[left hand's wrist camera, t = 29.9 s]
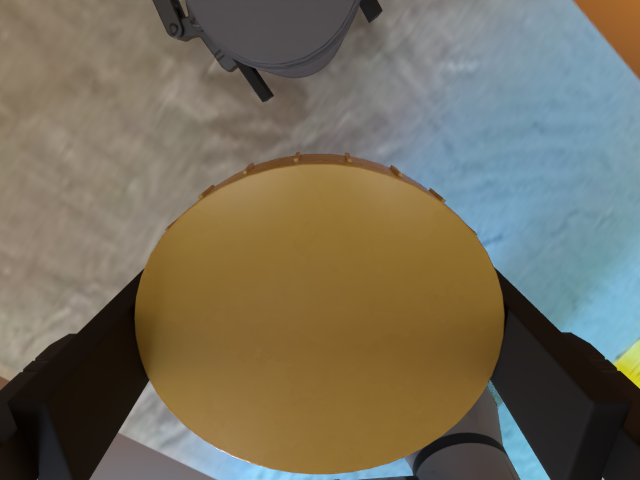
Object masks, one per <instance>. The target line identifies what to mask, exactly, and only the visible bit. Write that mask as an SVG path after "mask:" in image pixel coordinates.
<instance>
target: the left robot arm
mask: <svg viewBox="0 0 640 480" xmlns="http://www.w3.org/2000/svg"><path fill="white" fill-rule="evenodd" d="M144 269H145V268H144ZM144 269H143V270H142V271H141V272H140V273H139V274H138V275H137V276H136V277H135V278H134V279H133V280H132V281H131V282H130V283H129V284H128V285H127V286H126V287H125V288H124V289H123V290H122V291H121V292H120V293H118V294H117V295H116V296H115V297H114V298H113V299H112V300H111V301H110V302H109V303H108V304H107V305H106V306H105V307H104V308H103V309H102V310H101V311H100V312H99V313H98V314H97V315H96V316H95V317H94V318H93V319H92V320H91V321H90V322H89V323H88V324H87V325H86V326H85V327H84V328H82V329H81V330H80V331H79V332H78V333H77V334H68V335H66V336H65V337H63V338H61V339H59V340H58V341H56V342H54V343H52V344H51V345H49V346H48V347H47V348H46V349H45V350H44V351H43V352H42V353H41V354H40V355H38V356H37V357H36V358H35V361H32V362H31V363H30V364H29V365H28V366H26V367H25V368H24V369H23V372H20V373H19V374H18V375H17V376H15V377H14V378H13V379H12V380H11V381H10V382H9V383H8V384H7V385H6V386H5V387H3V388H2V389H1V390H0V480H37V479H38V480H89V479H90V477H91V476H92V474H93V472H94V471H95V469H96V467H97V466H98V464H99V463H100V461H101V459H102V458H103V456H104V454H105V453H106V451H107V449H108V448H109V446H110V444H111V443H112V441H113V439H114V438H115V436H116V434H117V433H118V431H119V429H120V428H121V426H122V425H123V423H124V421H125V420H126V418H127V416H128V415H129V413H130V411H131V410H132V408H133V406H134V405H135V403H136V401H137V400H138V398H139V396H140V395H141V393H142V391H143V390H144V388H145V386H146V385H147V383H148V381H149V378H148V376H147V374H146V371H145V369H144V366H143V364H142V361H141V358H140V353H139V349H138V344H137V340H136V334H135V320H134V316H135V305H136V295H137V292H138V288H139V284H140V280H141V276H142V273H143V271H144ZM494 269H495V271H496V273H497V276H498V280H499V284H500V287H501V291H502V295H503V305H504V314H505V318H504V336H503V341H502V346H501V351H500V356H499V358H498V361H497V364H496V366H495V369H494V372H493V375H492V376H491V378H490V380H491V382H492V383H493V385H494V387H495V388H496V390H497V392H498V393H499V395H500V397H501V398H502V400H503V402H504V403H505V405H506V407H507V408H508V410H509V412H510V413H511V415H512V417H513V418H514V420H515V422H516V423H517V425H518V427H519V428H520V430H521V432H522V433H523V435H524V436H525V438H526V440H527V441H528V443H529V445H530V446H531V448H532V450H533V451H534V453H535V455H536V456H537V458H538V460H539V461H540V463H541V465H542V466H543V468H544V470H545V471H546V473H547V475H548V476H549V478H550V480H602V477H603V478H604V480H640V389H639V388H638V387H637V386H636V385H635V384H634V383H633V382H632V381H631V380H630V379H628V378H627V377H626V376H625V375H624V374H623V373H622V372H621V371H617V368H616V367H615V366H614V365H613V364H612V363H611V362H610V361H609V360H605V357H604V356H603V355H602V354H601V353H600V352H599V351H598V350H597V349H595V348H594V347H593V346H592V345H591V344H590V343H588V342H586V341H585V340H583V339H581V338H579V337H578V336H576V335H574V334H572V333H571V332H560V331H559V330H558V329H557V328H556V327H555V326H554V325H553V324H552V323H551V322H550V321H549V320H548V319H547V318H546V317H545V316H544V315H543V314H542V313H541V312H540V311H539V310H538V309H537V308H536V307H535V306H534V305H533V304H532V303H531V302H529V301H528V300H527V299H526V298H525V297H524V296H523V295H522V294H521V293H520V292H519V291H518V290H517V289H516V288H515V287H514V286H513V285H512V284H511V283H510V282H509V281H508V280H507V279H506V278H505V277H504V276H503V275H502V274H501V273H500V272H499V271H498V270H497V269H496V268H494ZM404 458H405V459H406V461H407V463H408V464H409V466H410V468H411V469H412V472H413V476H400V477H387V478H374V479H361V480H520V478H519V476H518V474H517V472H516V470H515V468H514V466H513V465H512V463H511V461H510V459H509V457H508V455H507V453H506V451H505V449H504V447H503V443H502V436H501V430H500V423H499V416H498V408H497V404H496V402H495V400H494V398H493V396H492V394H491V393H490V391H489V389H488V387H487V386H486V387H485V389H484V391H483V393H482V394H481V395H480V397H479V398H478V400H477V401H476V402H475V404H474V405H473V406H472V408H471V409H470V410H469V411H468V412H467V413H466V414H465V415H464V416H463V417H462V418H461V420H460V421H459V422H458V423H456V424H455V425H454V426H453V427H452V428H450V429H449V430H448V431H447V432H446V433H445V434H443V435H442V436H441V437H439V438H437V439H436V440H434V441H433V442H431V443H430V444H428V445H427V446H425V447H423V448H421V449H420V450H418V451H416V452H414V453H412V454H410V455H408V456H405V457H404ZM335 480H339V479H335Z"/></svg>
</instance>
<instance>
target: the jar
mask: <svg viewBox="0 0 640 480" xmlns="http://www.w3.org/2000/svg"><path fill="white" fill-rule="evenodd" d="M360 1H361V0H186V3H187V5H188V6H189V8H190V10H191V11H192V13H193V15H194V16H195V18H196V20H197V21H198V23H199V25H200V27H201V28H202V29H203V30H204V32H205V33H206V34H207V35H208V37H209V38H210V39H211V40H212V41H213V42H214V43H215V44H216V45H217V46H218V47H219V48H220V49H221V50H222V51H223V52H225V53H226V54H228V55H229V56H230V57H232V58H233V59H235V60H237V61H239V62H241V63H243V64H245V65H248V66H250V67H253V68H256V69H259V70H263V71H266V72H270V73H273V74H276V75H280V76H284V77H288V78H301V77H306V76H309V75H312V74H314V73H316V72H318V71H320V70H321V69H322V68H324V67H325V66H326V65H327V64H328V63H329V62H330V61H331V60H332V58H333V57H334V56H335V54H336V52H337V51H338V49H339V47H340V45H341V43H342V41H343V39H344V37H345V35H346V33H347V31H348V29H349V27H350V25H351V23H352V21H353V19H354V17H355V15H356V13H357V10H358V7H359V4H360Z"/></svg>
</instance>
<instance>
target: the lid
mask: <svg viewBox="0 0 640 480" xmlns="http://www.w3.org/2000/svg"><path fill="white" fill-rule="evenodd" d="M198 197H199V198H200V200H199V201H197V202H196V203H195V204H194V205H193V206H192V207H190V208H189V209H188V210H187V211H186V212H184V213H183V214H182V215H181V216H180V217H179V218H178V219H177V220H175V221H174V222H173V223H172V224H171V225H169V226H168V227H167V228H166V232H165V234H164V235H163V236H162V238H161V239H160V241H159V242H158V244H157V246H156V247H155V249H154V250H153V252H152V253H151V255H150V257H149V260H148V262H147V264H146V266H145V269H144V271H143V273H142V276H141V280H140V284H139V288H138V292H137V295H136V305H135V316H134V320H135V334H136V340H137V344H138V349H139V353H140V358H141V361H142V364H143V366H144V369H145V371H146V374H147V376H148V378H149V380H150V382H151V384H152V385H153V387H154V389H155V391H156V392H157V394H158V395H159V397H160V398H161V399H162V401H163V402H164V403H165V405H166V406H167V407H168V409H169V410H170V411H171V412H172V413H173V414H174V415H175V416H176V417H177V418H178V419H179V420H180V421H181V422H182V423H183V424H184V425H185V426H186V427H187V428H189V429H190V430H191V431H192V432H194V433H195V434H196V435H197V436H198V437H200V438H202V439H203V440H205V441H206V442H208V443H209V444H211V445H212V446H214V447H216V448H218V449H220V450H222V451H223V452H225V453H227V454H229V455H231V456H234V457H236V458H239V459H241V460H244V461H246V462H249V463H252V464H255V465H259V466H262V467H266V468H270V469H274V470H280V471H285V472H291V473H303V474H337V473H347V472H354V471H359V470H365V469H370V468H373V467H377V466H380V465H384V464H387V463H390V462H393V461H395V460H398V459H400V458H403V457H405V456H408V455H410V454H412V453H414V452H416V451H418V450H420V449H421V448H423V447H425V446H427V445H428V444H430V443H431V442H433V441H434V440H436V439H437V438H439V437H441V436H442V435H443V434H445V433H446V432H447V431H448V430H449V429H450V428H452V427H453V426H454V425H455V424H456V423H458V422H459V421H460V420H461V418H462V417H463V416H464V415H465V414H466V413H467V412H468V411H469V410H470V409H471V408H472V406H473V405H474V404H475V402H476V401H477V400H478V398H479V397H480V395H481V394H482V393H483V391H484V389H485V387H486V386H487V384H488V382H489V380H490V378H491V376H492V375H493V372H494V369H495V366H496V364H497V361H498V358H499V356H500V351H501V346H502V341H503V336H504V318H505V314H504V305H503V295H502V291H501V287H500V284H499V280H498V276H497V273H496V271H495V269H494V266H493V264H492V262H491V260H490V258H489V255H488V253H487V252H486V250H485V249H484V247H483V246H482V244H481V243H480V241H479V240H478V238H477V236H476V235H477V234H476V232H475V231H473V230H472V229H471V228H470V227H469V226H468V225H466V224H465V222H464V221H463V220H462V219H461V218H460V217H459V216H458V215H457V214H456V213H455V212H454V211H452V210H451V209H450V208H449V207H448V206H447V205H445V204H444V202H445V201H446V200H445V199H443V198H442V197H441V196H440V195H439V194H437V193H436V192H435V191H434V190H432V189H431V188H430V189H429V191H428V190H427V189H426V188H425V187H423V186H422V185H421V184H419V183H417V182H416V181H414V180H412V179H411V178H409V177H407V176H406V175H404V174H402V173H401V172H400V171H399V170H398V169H397V168H396V167H394V166H392V165H391V167H390V168H388V167H386V166H384V165H381V164H379V163H375V162H371V161H368V160H364V159H360V158H356V157H350V155H349V153H345V156H342V155H334V154H304V155H301V154H300V152H296V155H295V156H290V157H283V158H278V159H275V160H271V161H268V162H264V163H261V164H257V165H254V163H252V164H250V165H249V166H248V167H247V168H246V169H245V170H244V171H241V172H239V173H237V174H235V175H233V176H232V177H230V178H228V179H227V180H225V181H223V182H222V183H220V184H219V185H217V186H215V187H214V185H212V186H210V187H209V188H208V189H207V190H206V191H204V192H203V193H202V194H201V195H199V196H198Z"/></svg>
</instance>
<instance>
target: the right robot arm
mask: <svg viewBox="0 0 640 480" xmlns="http://www.w3.org/2000/svg"><path fill="white" fill-rule="evenodd" d="M153 2H154V4H155V7H156V9H157V11H158V13H159V16H160V18H161V20H162V22H163V25H164V27H165V29H166V31H167V33H168V34H169V35H170V36H171V37H173V38H176V39H178V40H182V41H185V42H186V41H189V40H190V39H193V38H196V37H200V38H201V39H202V40H203V41H204V43H205V44H206V46H207V47H208V48H209V50H210V51H211V53H212V54H213V55H214V57H215V58H216V60H217V61H218V62H219V64H220V65H221V67H222V68H224V69H225V70H227V71H228V72H233V71H234V70H235V69H237V68H238V67H239V69H240V70H241V72H242V73H243V75H244V76H245V77H246V79H247V80H248V82H249V83H250V85H251V86H252V87H253V89H254V90H255V92H256V93H257V95H258V96H259V97H260V99H261V100H262V102H265V101H268V100H269V99H270V98H272V97H273V96H274V95H273V93H272V92H271V91H270V89H269V88H268V86H267V85H266V83H265V82H264V80H263V79H262V77H261V76H260V74H259V73H258V71H257V70H256V69H255V68H253V67H250V66H248V65H245V64H243V63H241V62H239V61H237V60H235V59H233V58H232V57H230V56H229V55H228V54H226V53H225V52H223V51H222V50H221V49H220V48H219V47H218V46H217V45H216V44H215V43H214V42H213V41H212V40H211V39H210V38H209V37H208V35H207V34H206V33H205V32H204V30H203V29H202V28H201V27H200V25H199V23H198V21H197V20H196V18H195V16H194V15H193V13H192V11H191V10H190V8H189V6H188V5H187V3H186V5H187V10H188V15H189V16H188V17H186V16H185V14H184V12H183V9H182V7H181V4H180V2H179V0H153ZM359 5H360V7H361V9H362V11H363V13H364V15H365V16H366V18H367V20H368V22H369V23H370V22H371V21H373V20H374V19H375V18H377V17H378V16H379V14H380V13H381V12H382V11H383V10H382V8H381V7H380V5H379V3H378V1H377V0H361V1H360V4H359Z"/></svg>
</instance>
